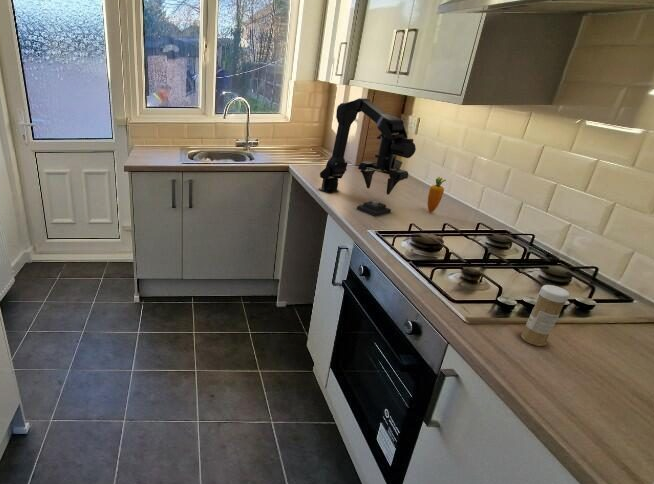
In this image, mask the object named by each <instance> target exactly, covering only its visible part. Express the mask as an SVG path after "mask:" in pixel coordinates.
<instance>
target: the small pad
mask: <svg viewBox="0 0 654 484" xmlns="http://www.w3.org/2000/svg"><path fill="white" fill-rule="evenodd" d="M372 201H373V200H369V201H365V202H363V204H362V205H363V206H364V207H367V208H369V209H372V210H375V211H377V210H381V209H385V208H387V204H386V203H385V204H384V203H382V202H379V203H378V205H376V206H375V205H372Z"/></svg>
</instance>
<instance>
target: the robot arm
mask: <svg viewBox="0 0 654 484" xmlns="http://www.w3.org/2000/svg"><path fill="white" fill-rule="evenodd" d="M361 112H362V113H363V114H364V115H365V116H366V117H368V118H369V119H370V120H372V122H374V123H375V124H376V128H377V130H378V131H379V132H380V134H379V135H377V136H376V139H377V140H379V141H380V142H379V146H378V151H377V154H375V155H374V158H376V160H375V162H374V161H369V160H367V161H361V162H360V163H359V164H358V167H357V169H358V170H360V171H359V172H360V173H361V174H362V177H363V179H364V182H365V186H366V188H367V189H370V188H371V185H372V181H373V177H374V174H375V172H379V173H383V174H385V175H388V176H389V178H387V182H386V195H388V196H389V195H390V194H391V192H392V191H393V189H394V188H395V186H397V184H398V183H399V182H401V181H404V180H408V179H409V175H410V174H409V171H408V170H405V169H401V167H402V165H403V163H404V162H403V161H401V160H398V159H397V157H401V158H405V159H409V158H412V157H413V156H414V154H415V153H416V150H417V148H416V144H415V142H414V138H409V137H408V134H407V131H406V127H405V124H404V123H405V122H404V121H403V119H402V118H399V117H397V116H395V115H391V114H388V113H386V112H385V111H384V110H382V109H381V108H379V106H377V105H376V104H374V103H373V102H372V101H371V99H369V98H368V97H361V98H360V97H359V98H357V99H354V100H351V101H347V102H341V103H340V104H338V105H337V106H336V115H335V119H336V122H337V124H338V125H337V129H336V135H335V138H334V145H333V149H332V155H331V157H330V158H329V159H328V160H327V162H326V164H325V168H323V170H322V171H320V172H319V178H321V179H322V181H321V182H322V183H321V187H320V188H318V191H320V192H321V191H322V192H325V193H327V194H333V193H339V191H340V190H339V189H338V187H339V179H342V178H343V176H344V175H345V173H346V172H347V167H348V162H347V161H346V160H345V154H346V149H347V143H348V140H349V136H350V135H349V134H350V131H351V130H350V129H351V125H352V124H353V123H354V122H355V120H356V119H357V116H358V113H361Z"/></svg>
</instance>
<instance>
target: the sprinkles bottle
mask: <svg viewBox="0 0 654 484" xmlns="http://www.w3.org/2000/svg"><path fill="white" fill-rule="evenodd" d="M538 294H539V295H538V297H537V300H536V302H535V305H534V307H532V310H531V313H530V315H529V317H528V319H527V321H526V323H525V324H526V325H525V326H524V329H523V332H521V334H520V337H521V339H522V340H523V341H524V342H526V343H528V344H530V345H532V346H533V345H534V346H537V347H544V346H545V345H547V341H548V339H549V336H550V335H551V333H552V331H553V330H554V327H555V325H556V323H557V321H558V319H559V317H560V315H561V312H562V309H563V308H564V305H565V304H566V303H567V302H568V300H569V297H570V292H569V291H568V290H567V289H565V288H562V287H561V286H557V285H553V284H545V285H542V286H541V288H540V290H539V293H538Z"/></svg>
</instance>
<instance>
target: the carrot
mask: <svg viewBox="0 0 654 484" xmlns="http://www.w3.org/2000/svg"><path fill="white" fill-rule="evenodd" d="M446 181H447V180H446V179H443V177H440V176H437V178H435V184H433V185H431V186H430V187H429V191H428V195H427V210H428V213H430V214H432V213H434V211H435V210H436V209H437V208H438V206H439V204H440V203H441V202H442V198H443V195H444V192H445V188H444V187H443V186H442V184H443V183H444V182H446Z"/></svg>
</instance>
